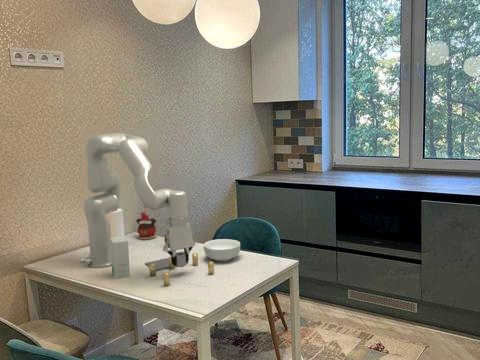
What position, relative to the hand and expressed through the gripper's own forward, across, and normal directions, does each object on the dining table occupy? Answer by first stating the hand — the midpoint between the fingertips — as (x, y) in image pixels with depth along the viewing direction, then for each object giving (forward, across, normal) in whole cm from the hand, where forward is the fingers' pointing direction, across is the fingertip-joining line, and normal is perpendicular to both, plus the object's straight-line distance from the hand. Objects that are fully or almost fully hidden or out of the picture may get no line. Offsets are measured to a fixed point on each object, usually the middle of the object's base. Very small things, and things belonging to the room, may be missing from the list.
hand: (180, 263), depth 194 cm
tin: (+6, +18, +41) cm, 46 cm away
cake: (+6, +11, +64) cm, 65 cm away
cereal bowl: (+5, +24, +6) cm, 26 cm away
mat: (+5, -1, +16) cm, 17 cm away
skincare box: (+6, -20, +16) cm, 26 cm away
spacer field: (+5, 0, +1) cm, 5 cm away
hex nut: (+1, 0, 0) cm, 1 cm away
